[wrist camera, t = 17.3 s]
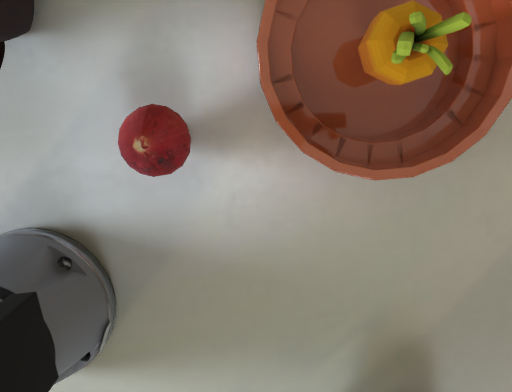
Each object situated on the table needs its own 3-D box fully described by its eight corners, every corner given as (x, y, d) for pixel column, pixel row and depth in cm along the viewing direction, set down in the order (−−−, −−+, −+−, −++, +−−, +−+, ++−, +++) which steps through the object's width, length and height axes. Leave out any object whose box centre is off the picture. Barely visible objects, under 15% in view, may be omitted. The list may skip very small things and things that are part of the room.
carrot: (408, 26, 37) (490, -18, 22) (400, 89, 38) (473, 86, 23) (347, 22, 37) (388, -23, 22) (341, 85, 38) (376, 80, 24)
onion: (211, 144, 41) (194, 157, 33) (161, 180, 42) (133, 200, 34) (172, 90, 40) (144, 90, 32) (122, 128, 41) (84, 137, 33)
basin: (272, 174, 41) (270, 189, 35) (251, -49, 37) (244, -78, 31) (484, 155, 39) (523, 167, 33) (487, -80, 35) (530, -117, 29)
